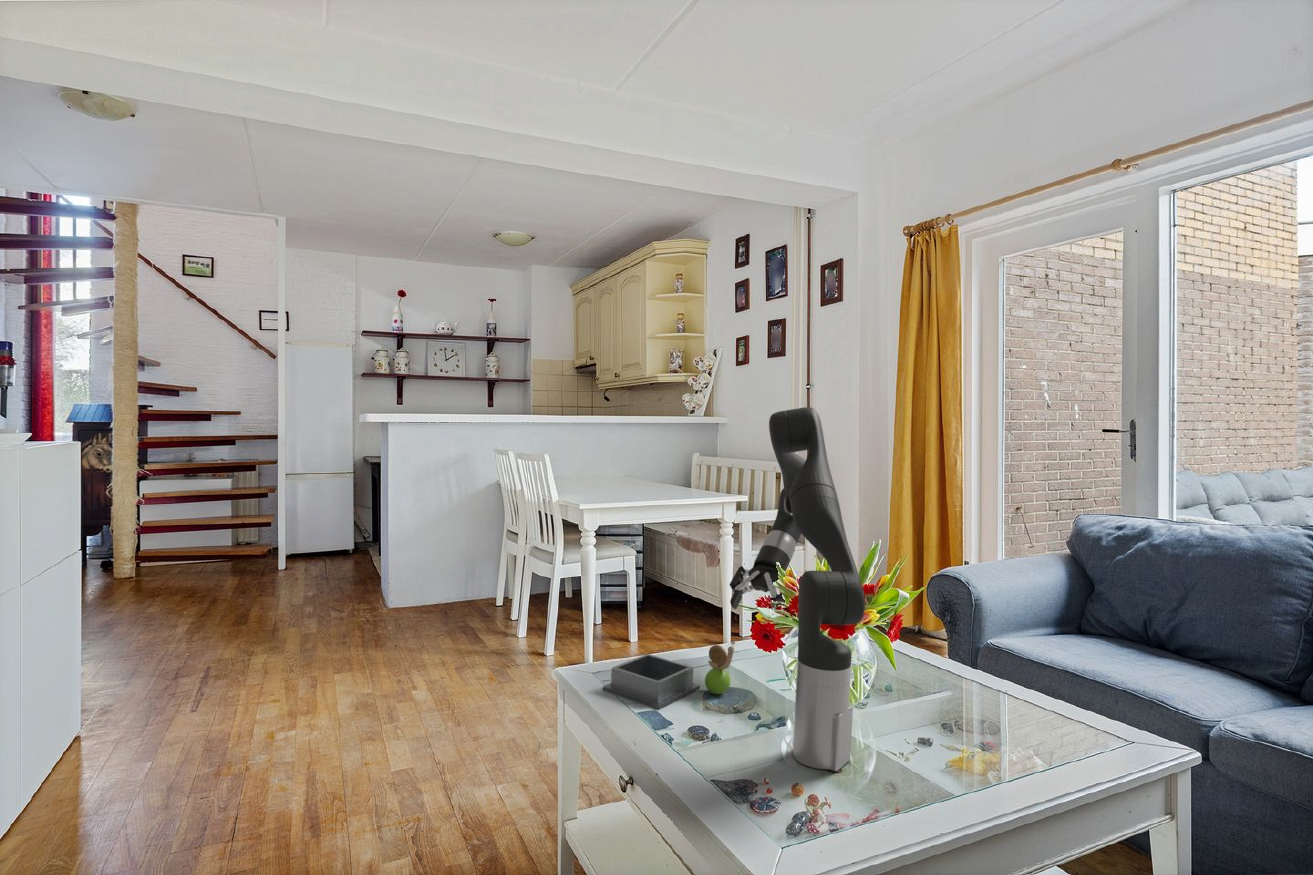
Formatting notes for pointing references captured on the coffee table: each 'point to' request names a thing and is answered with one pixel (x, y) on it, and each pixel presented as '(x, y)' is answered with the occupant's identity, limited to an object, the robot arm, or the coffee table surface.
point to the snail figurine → (719, 669)
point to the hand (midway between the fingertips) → (749, 610)
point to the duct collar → (652, 681)
